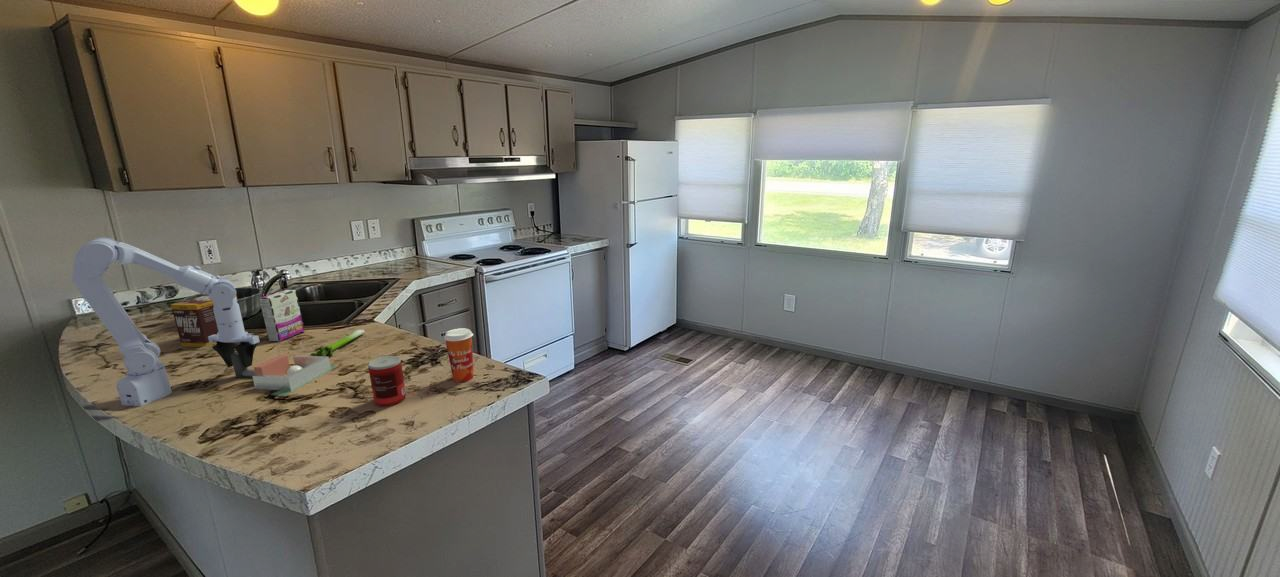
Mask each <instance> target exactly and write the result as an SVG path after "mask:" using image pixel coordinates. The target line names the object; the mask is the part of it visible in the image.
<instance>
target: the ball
mask: <svg viewBox="0 0 1280 577" xmlns="http://www.w3.org/2000/svg"><path fill="white" fill-rule="evenodd" d="M300 369H302V367H300V366H295V365H292V366H290V368H289V369H288V371H287V373H286V376H289V375H291V374H293V373H295V372H297V371H299V370H300Z"/></svg>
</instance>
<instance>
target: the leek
mask: <svg viewBox="0 0 1280 577" xmlns="http://www.w3.org/2000/svg"><path fill="white" fill-rule="evenodd" d="M365 333H366V331H365V330H364V329H357V330H355V331H354V332H352V333H351V334H349V335H347V336H346V337H343V338H342V339H340V340H338V341H335V342H333V343H332V344H329V345H327V346H326V345H320V347H317V348H316V349H315V353H314V352H312V353H310V355H308V356H324V357H327V355H329V354H330V356H333V355H334V354H333V353H334V351H336V350H337V349H339V348H340V347H342V346H344V345H345V344H347V343H349V342H352V341H353V340H354V339H357V338H358V337H359V336H361V335H363V334H365Z"/></svg>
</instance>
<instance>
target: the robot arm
mask: <svg viewBox="0 0 1280 577" xmlns="http://www.w3.org/2000/svg"><path fill="white" fill-rule="evenodd" d="M115 261H118V262H117V265H118V266H119V265H120V266H121V265H137V266H141V267H144V268H146V269H149V270H151V271H154V272H157V273H160V274H163V275H165V276H167V277H168V276H169V277H172V279H173V280H174V283H175V285H178V286H181V287H183V288H184V289H185V288H186V289H187V290H190V291H193V292H195V293H197V294H207V295H209V297H210V298H211V299H212V301H213V305H214V307H213V310H214V314H215V318H216V323H217V327H218V331H219V334H214V335H211V336H208V339H209V343H214V342H216V343H217V344H215V345H212V346H211V348H212V349H213V350H214V351H215V352H216V353H217V354H218V355H219V356H220V358H222V360H223V362H224V363H225V365H226V366H227V368H231V367H233V363H232V359H231V354H232V353H235V351H236V352H238V354H239V356H240V358H241V361H242V364H243V366H244V368H247V369H248V368H249V367H251V366H253V360H254V352H255V350H256V347H257V345H258V343H260V342H261V341H260V338H259V335H255V334H250V333H249V332H248V331H246V330H245V327H244V326H245V325H244V321H243V318H242V317H241V312H240V308H239V304H238V303H237V298H236V290H235V288H236V287H235V284H234V282H232V281H231V280H229V279H228V278H225V277H221V276H220V275H217V274H216V275H213V274H211V273H209V272H207V271H204V270H202V269H201V266H198V265H194V266H192V265H184V266H179V265H177V264H175V263H172V262H170V261H168V260H166V259H163V258H162V257H159V256H157V255H154V254H152V253H150V252H149V251H145V250H143V249H141V248H138V247H136V246H133V245H131V244H129V243H125V242H121V241H119V242H118V241H117V240H116V239H114V238H111V237H106V236H100V237H96V238H93V239H91V240H90V241H89V242H86V243H84V244H83V245H82V246H81V247H80V248H79V249H78V250H77V252H76V253H75V255H74V261H73V262H74V263H73V269H72V274H71V282H72V283H73V284H74V286H75V287H76V289H77V290H78V291H79V293H80V294H81V296H83V299H84V300H85V301H86V302H87V304H88V305H89V306H90V307H91V309H92V310H93V312H94V313H95V315H96V316H97V317H98V319H99V320H100V321H101V322H102V324H103V326H104V327H105V328H106V330H107V331H108V332H109V334H110V335H111V336H112V338H113V339H114V341H115V342H116V344H117V346H118V349H119V352H120V354H121V355H122V356H123V365H124V368H125V369H126V370H127V371H126V373H127V374H126V375H125V376H124V377H123V378H120V379H119V380H117V382H116V390H117V393H118V396H119V399H120V402H121V403H120V404H121V406H133V407H137V406H138V407H143V406H144V405H147V404H149V403H152V402H154V401H157V400H160V399H162V398H165V397H168V396H169V395H170V394H172V393H173V392H172V389H171V385H170V381H169V377H168V374H167V370H166V367H165V363H164V362H162V361H160V360H159V357H160V355H161V349H160V347H159V345H158V344H157V343H155V342H152V341H151V340H149V339H148V337H147V335H145V334H144V333H142V332H141V331H140V330H139V328H138V326H137V325H136V323H134V321H133V319H132V318H131V317H130V315H129V314H128V313H127V311H126V310H125V309H124V307H123V305H122V304H121V302H120V301H119V300H118V298H117V297H116V296H115V294H114V293H113V291H112V290H111V288H109V286H108V285H107V283H106V281H105V280H104V276H105V274H106V273H107V270H108V269H109V266H111V265H112V264H113V263H114V262H115ZM236 344H237V345H236Z"/></svg>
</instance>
